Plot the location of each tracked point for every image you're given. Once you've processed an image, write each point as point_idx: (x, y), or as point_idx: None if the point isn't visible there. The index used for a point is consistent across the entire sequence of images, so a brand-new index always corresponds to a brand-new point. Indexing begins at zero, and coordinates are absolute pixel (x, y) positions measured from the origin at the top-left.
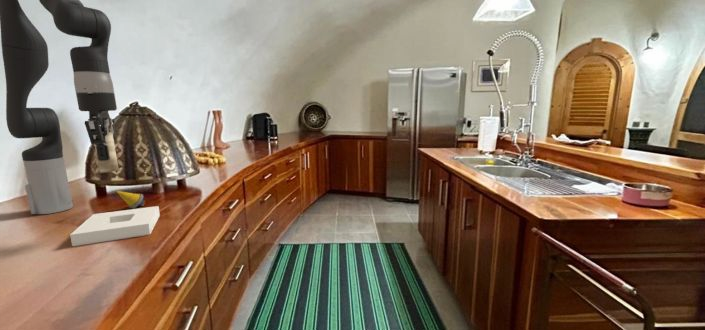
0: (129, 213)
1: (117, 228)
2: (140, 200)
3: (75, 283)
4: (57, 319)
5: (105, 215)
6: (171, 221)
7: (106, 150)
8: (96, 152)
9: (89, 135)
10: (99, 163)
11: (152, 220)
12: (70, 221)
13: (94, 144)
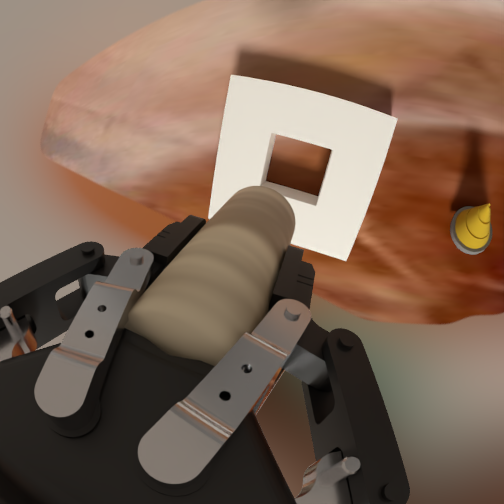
0: (329, 194)
1: (216, 162)
2: (453, 239)
3: (92, 118)
4: (47, 124)
5: (357, 142)
6: None
7: None
8: (207, 229)
9: (37, 267)
10: (222, 206)
11: None
12: (459, 76)
13: (125, 252)
